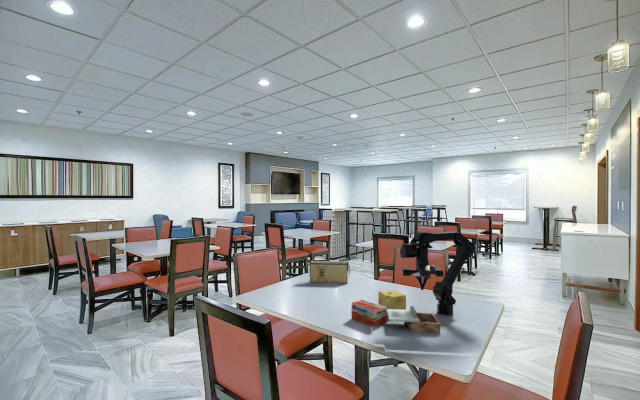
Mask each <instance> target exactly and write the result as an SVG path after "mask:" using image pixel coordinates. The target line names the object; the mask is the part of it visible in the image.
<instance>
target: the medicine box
mask: <svg viewBox="0 0 640 400" xmlns="http://www.w3.org/2000/svg"><path fill="white" fill-rule="evenodd" d="M350 312H351V320H353V321H356V322H359V323H361V324H364V325H365V326H366V325H367V326H369V327H373V326H374V327H379V326H381V325H383V324H386V323H387V322H388V316H387V307H385V306H382V305H379V304H378V303H375V302H372V301H369V300H365V299H359V300H356V301H355V300H354V301H353V302H351V311H350Z"/></svg>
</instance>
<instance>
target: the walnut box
mask: <svg viewBox="0 0 640 400" xmlns="http://www.w3.org/2000/svg"><path fill="white" fill-rule="evenodd" d="M417 318H418V319H419V320H420V322H406V324H407V326H408V329H409V332H410V333H423V334H441V323H440V321H439V320H438V318H437V317H436V315H435V314H434V313H433V312H417Z"/></svg>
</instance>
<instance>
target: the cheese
mask: <svg viewBox="0 0 640 400" xmlns="http://www.w3.org/2000/svg"><path fill="white" fill-rule="evenodd" d="M377 295H378V297H377V299H378V300H377V301H378V303H377V304H379V305H382V306H385V307H387V309H399V310H407V297H406V294H404V293H401V292H399V291H397V290H395V289H392V290H385V291H384V290H383V291H382V290H381V291H378V294H377ZM387 317H388V314H387Z"/></svg>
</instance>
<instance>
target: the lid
mask: <svg viewBox="0 0 640 400" xmlns="http://www.w3.org/2000/svg"><path fill="white" fill-rule="evenodd" d="M417 313H418V312H417V311H416V308H415V307H414V306H413V305H411V306H410V309H406V310H399V309H387V314H388V316H387V318H388V320H389V322H406V323H407V322H419V320H418V318H417Z"/></svg>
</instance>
